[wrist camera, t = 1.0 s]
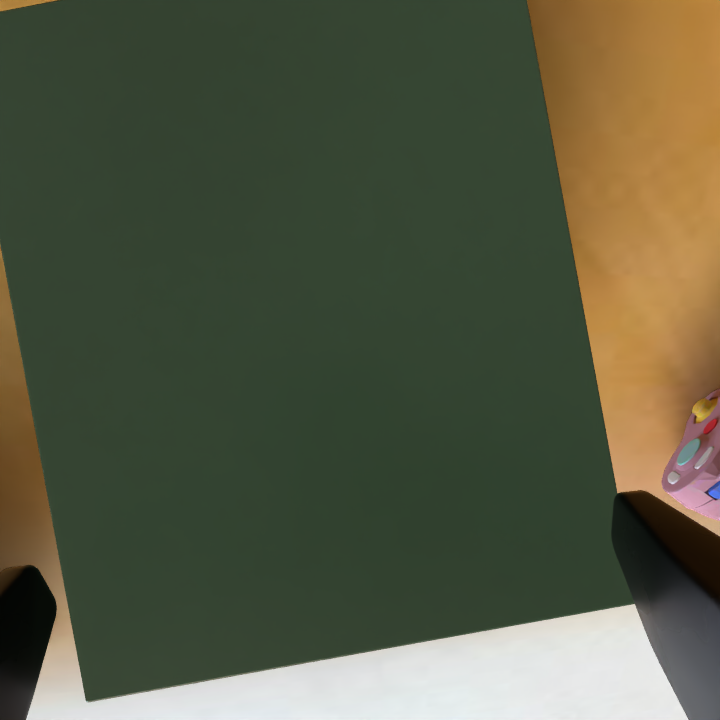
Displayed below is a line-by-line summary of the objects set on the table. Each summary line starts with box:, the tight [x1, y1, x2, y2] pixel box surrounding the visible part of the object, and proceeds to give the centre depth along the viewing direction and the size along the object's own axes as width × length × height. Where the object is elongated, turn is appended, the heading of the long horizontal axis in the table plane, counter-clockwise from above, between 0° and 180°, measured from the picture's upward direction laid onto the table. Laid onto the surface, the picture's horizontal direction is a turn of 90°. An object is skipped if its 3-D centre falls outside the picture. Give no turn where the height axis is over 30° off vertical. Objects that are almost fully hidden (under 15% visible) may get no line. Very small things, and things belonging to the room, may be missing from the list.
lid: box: [0, 0, 635, 702], centre depth 12 cm, size 14×12×1 cm
